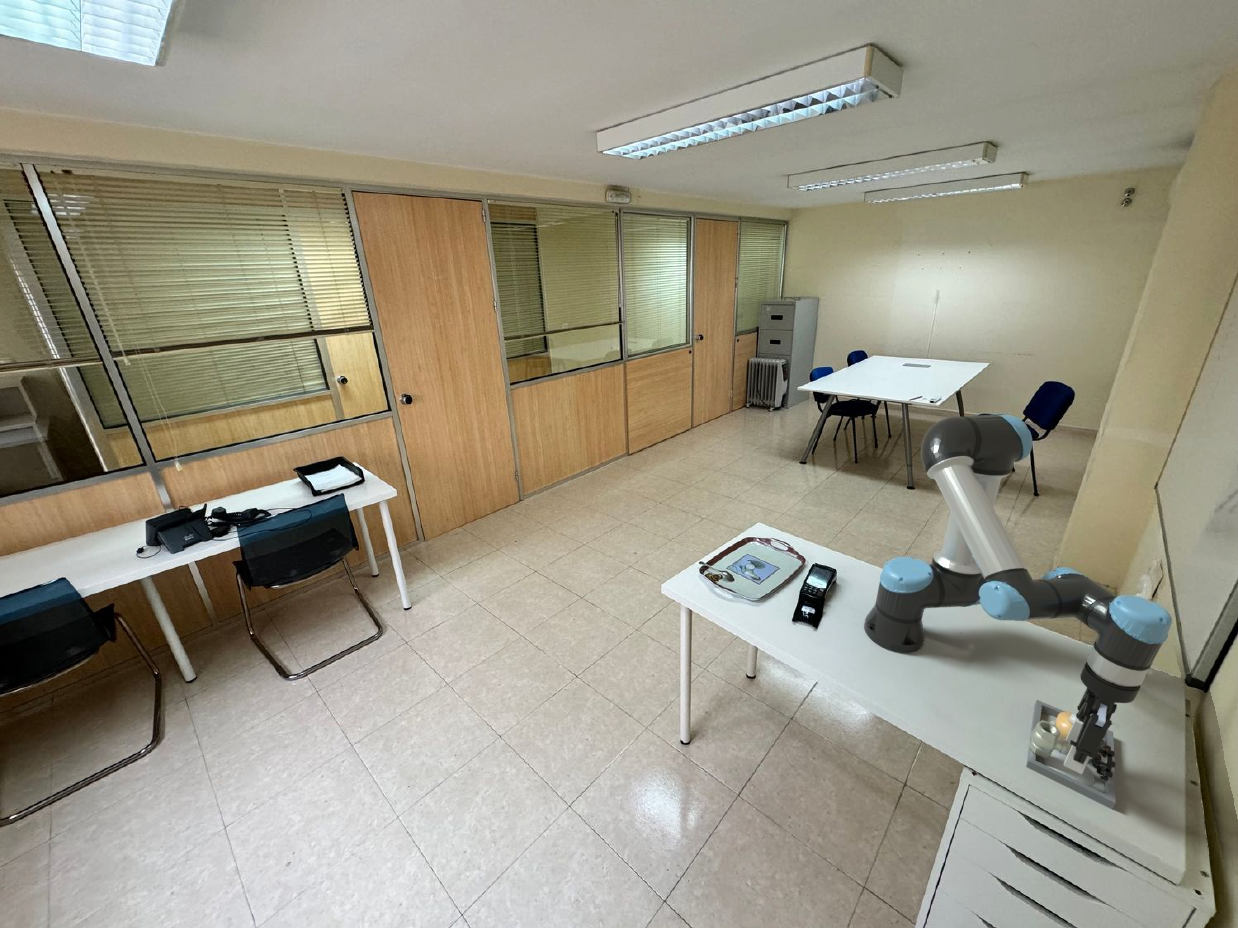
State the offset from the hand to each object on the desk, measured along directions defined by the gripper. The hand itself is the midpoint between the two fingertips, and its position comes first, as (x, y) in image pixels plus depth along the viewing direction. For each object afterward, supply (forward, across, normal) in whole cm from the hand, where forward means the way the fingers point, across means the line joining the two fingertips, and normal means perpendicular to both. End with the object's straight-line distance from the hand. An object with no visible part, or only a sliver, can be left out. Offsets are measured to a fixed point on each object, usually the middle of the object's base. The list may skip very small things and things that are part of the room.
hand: (1073, 756), depth 98 cm
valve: (+2, 0, +1) cm, 2 cm away
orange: (+3, +9, 0) cm, 10 cm away
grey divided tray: (+4, +5, 0) cm, 6 cm away
